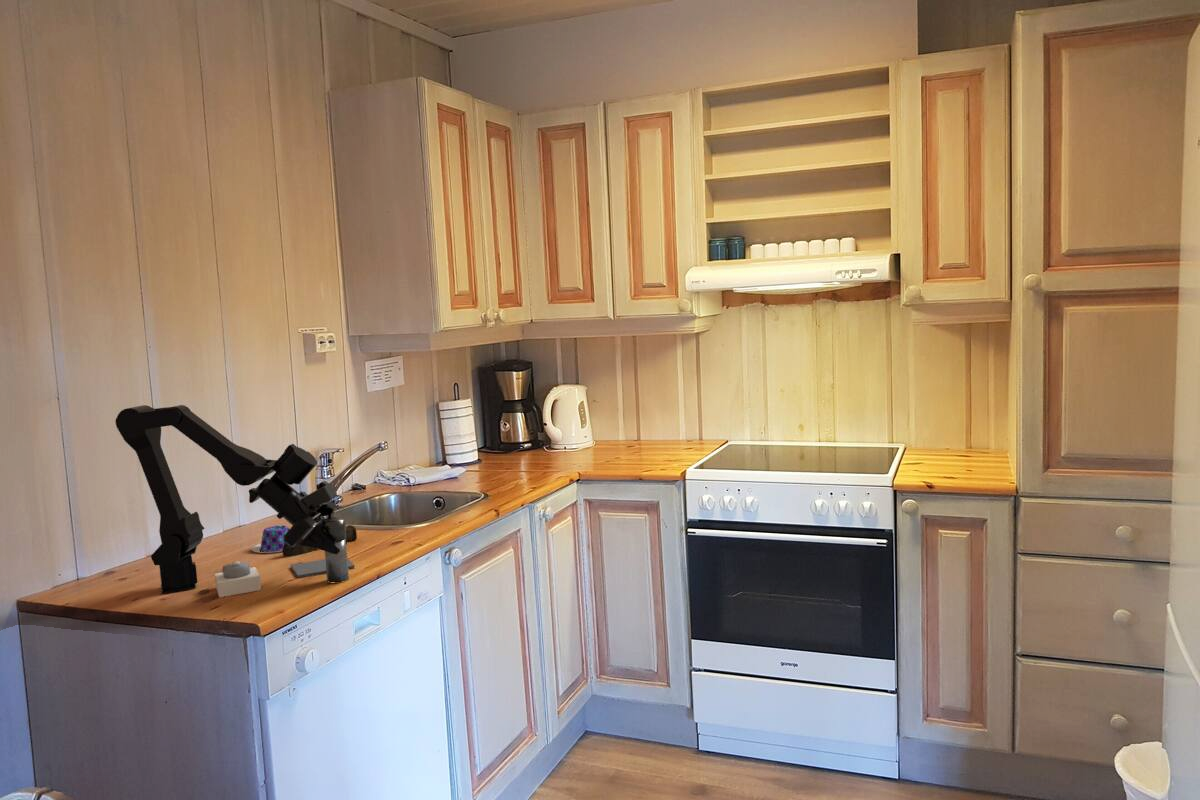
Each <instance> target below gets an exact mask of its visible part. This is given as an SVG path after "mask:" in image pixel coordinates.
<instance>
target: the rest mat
mask: <svg viewBox="0 0 1200 800" xmlns="http://www.w3.org/2000/svg"><path fill="white" fill-rule="evenodd" d="M347 561H348V568H353V569H355V568H354V567H355V564H354V563H353V562H352V561H351V560H350V559H349V558H348V557H347ZM290 569H292V571H293V572H294V574H295V576H296V577H297V578H298V579H301V578H300V577H302V578H307V577H306V576H308V577H311V576H312V575H313V576H317V574H319V575H323V574H322V573H325V574H327V572H326V560H325V558H323V559H317V560H311V561H306V562H299V563H293V564H290Z"/></svg>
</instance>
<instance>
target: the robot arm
mask: <svg viewBox="0 0 1200 800" xmlns="http://www.w3.org/2000/svg"><path fill="white" fill-rule="evenodd" d="M115 426H116V428H117V431H118V432H119V435H121V437H122V439H123V441H124V442H125V443H126V444H127V445H128V446H129V447H130V448H131V449H133V451H134V452H135V453H136V456H137V458H138V460H139V463H140V466H141V468H142V471H143V474H144V476H145V478H146V479H145V480H146V483H147V484H148V487H149V490H150V492H151V494H152V498H153V500H154V502H155V505H156V508H157V510H158V513H159V517H160V518H159V529H158V533H159V536H160V537H159V538H160V542H161V544H160V545H159V546H158V547H157V549H155V551H154V552H153V553H152V554H151V555H150V558H151V561H152V562H153V564H154V566H159V575H160V591H161V594H168V593H174V592H180V591H187V590H191V589H193V590H194V589H196V585H197V583H198V574H197V573H198V572H197V566H196V562H195V561H193V557H192V555H194V554H195V553H196V551H197V549H198V548H197V547H198V546H199V545H200V544H201V542H202V540H203V539H204V532H203V531H204V530H205V527H204V525H203V524H202V522H201V520H200V519H201V518H200V515H199V513H198V511H195V512H193V513H191V512H190V511H189V510H188V509H186V507H185V506H184V503H183V501H182V498H181V496H180V493H179V490H178V487H177V485H176V483H175V479H174V477H173V475H172V471H171V469H170V467H169V464H168V461H167V459H166V456H165V453H164V451H163V448H162V445H161V437H162V428H163V427H171V426H172V427H173V428H175V429H176V430H177V431H178V432H180V433H181V434H182V435H184V436H185V437H187V438H188V439H189V440H191V441H192V442H194V444H196V445H197V446H198V447H200V448H201V449H203V451H205V452H207V453H208V454H209V455H211V456H212V457H213V458H215V459H216V460H217V461H218V463H219V464H220V465H221V467H222V468H223V471H224V472H225V473H226V474H227V475H228V476H229V477H230V478H231V479H232V481H233V482H235V484H237V485H239V486H242V487H244V486H250V485H253V484H254V483H257V482H259V481H260V480H262V481H261V482H260V483H259V484H258V485H257V486H256V487H252V488H250V489H249V490H248V493H249V496H248V497H249V499H248V502H249V504H253V503H254V502H257V501H258V500H259V499H261V500H262V501H264V502H265V504H267V505H268V506H269V507H271V508H272V509H273V510H274V511H275V512H276V513H277V515H276V517H277V518H278V519H279V520H281V519H282V518H283V519H284V520H285V521H286V522H288V523H289V524H290V525H291V527H290V528H289V531H288V532H287V533H286V534H285V535H284V542H285V543H286V544H287V545H288V546H290V547H291V548H292V547H293V546H295V545H296V544H297V543H298V542H297V541H298V540H299V539H300V538H302V539H303V540H302V542H301V543H300V544H299V545H301V546H302V545H304V546H308V547H312V548H316V549H315V550H320V551H323V552H325V551H327V552H330V553H334V554H338V553H339V552H340V549H339V548H338V547H337V545H336V544H335V543H334V542H333V541H332V540H331V539H330V538H329V536H328V535H327V534H326V533H325V532H324V531H323V524H322V521H321V520H323V519H327V518H332V517H335V510H336V509H337V508H338V505H337V504H335V503H334V502H333V501H332V500H334V498H336V497H338V495H337V493H336V491H335V490H336V486H335V485H333V484H332V483H331V482H328V481H326V480H323V481H321V482H319V483H318V484H316V490H314V491H312V492H310V493H308V494H307V493H306V491H299V492H298V491H297V490H296V489H295V488H293V485H301V484H302V482H303V481H304V479H306V478H307V476H308V475H309V474H310V473H311V472H312V471H313V469H314V468H315V467H316V466H317V465H318V461H317V459H316V457H315V456H314V455H313V454H312V453H311V452H309V451H308V450H307V451H306V450H305V449H303V448H301V447H299V446H296V444H294V443H290V444H289V445H288V446H287V447H286V448H285V449H284V451H283V453H282V454H281V455H280V457H278V459H267V458H265V457H264V456H262V455H261V454H259V453H257V452H255V451H253V450H251V449H249V448H246V447H243V446H241V445H238V444H236V443H234V442H232V441H231V440H230V439H228V438H227V437H226V436H225V435H223V434H222V433H220V432H219V431H218V430H217V429H215V428H214V427H212V426H211V425H210V424H208V422H206V421H205V420H203V419H202V418H201V417H199V416H198V415H197V414H196V413H194V412H193V411H191V409H190V408H189V407H188V406H187V405H183V404H179V405H174V406H168V407H166V406H165V407H158V408H154V407H151V406H150V405H147V404H146V405H144V404H143V405H137V406H134V407H133V406H131V407H128V408H124V409H122V410H121V411H120V412H119V413H118V414H117V416H116V418H115ZM272 473H273V475H272V476H271V477H270V478H265V477H266V476H269V475H270V474H272ZM346 546H348V542H346Z"/></svg>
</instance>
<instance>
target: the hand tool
mask: <svg viewBox="0 0 1200 800" xmlns="http://www.w3.org/2000/svg"><path fill="white" fill-rule="evenodd" d="M357 534H358V532H357V529H356V527H355V526H353V525H351V524H350V525H347V526H346V542H349V541H353V542H354V541H355V542H356V541H357V539H358V537H357V536H358V535H357ZM302 540H303V539H302V538H300V539H299V540H298V541H297V542H298V543H297V544H296V545H295V546H293V547H292V548H291V547H290V546H288V545H287V544H286V543H284V546H283V551H282V556H283V558H289V557H290V558H291V557H294V556H299V555H305V554H307V553H309V551H312V550H317V549H316V548H312V547H308V546H304V545H302V546H301V545H299V544H300V543H301V542H302Z"/></svg>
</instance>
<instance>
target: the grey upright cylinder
mask: <svg viewBox="0 0 1200 800" xmlns="http://www.w3.org/2000/svg"><path fill="white" fill-rule="evenodd" d="M321 521H322V524H323V531H324V532H325V533H326V534H327V535H328V536H329V538H330V539H331V540H332V541H333V542H334V543H335V544H336V545H337V547H338V548H339V549H340V552H339V553H338V554H334V553H330V552H327V551H324V556H325V557H324V559H325V560H326V572H327V573H326V581H329V582H341V583H343V582H342V581H345V582H347V581H349V580H350V575H349V574H350V573H349V569H348V561H347V558H348V553H347V545H346V543H347V541H346V527H347V526H346V518H345V517H343V516H334V517H332V518H327V519H323V520H321ZM348 579H349V580H348ZM346 580H347V581H346Z"/></svg>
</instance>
